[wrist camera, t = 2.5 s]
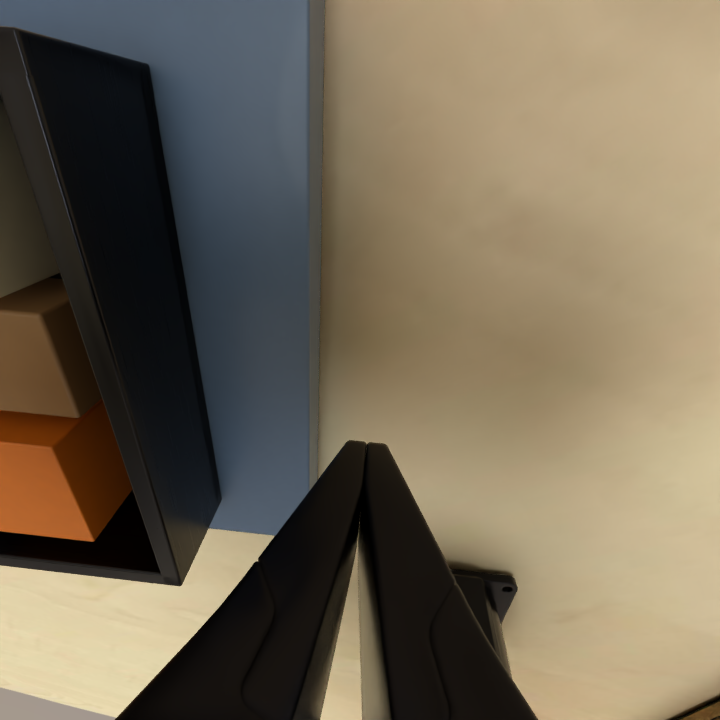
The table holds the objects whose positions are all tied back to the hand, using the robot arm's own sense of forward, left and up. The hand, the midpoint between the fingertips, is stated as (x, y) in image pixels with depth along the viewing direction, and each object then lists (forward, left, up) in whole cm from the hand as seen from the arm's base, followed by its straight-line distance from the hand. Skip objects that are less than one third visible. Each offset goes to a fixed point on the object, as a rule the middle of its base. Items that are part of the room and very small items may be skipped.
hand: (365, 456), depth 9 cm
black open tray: (0, +10, -4) cm, 11 cm away
